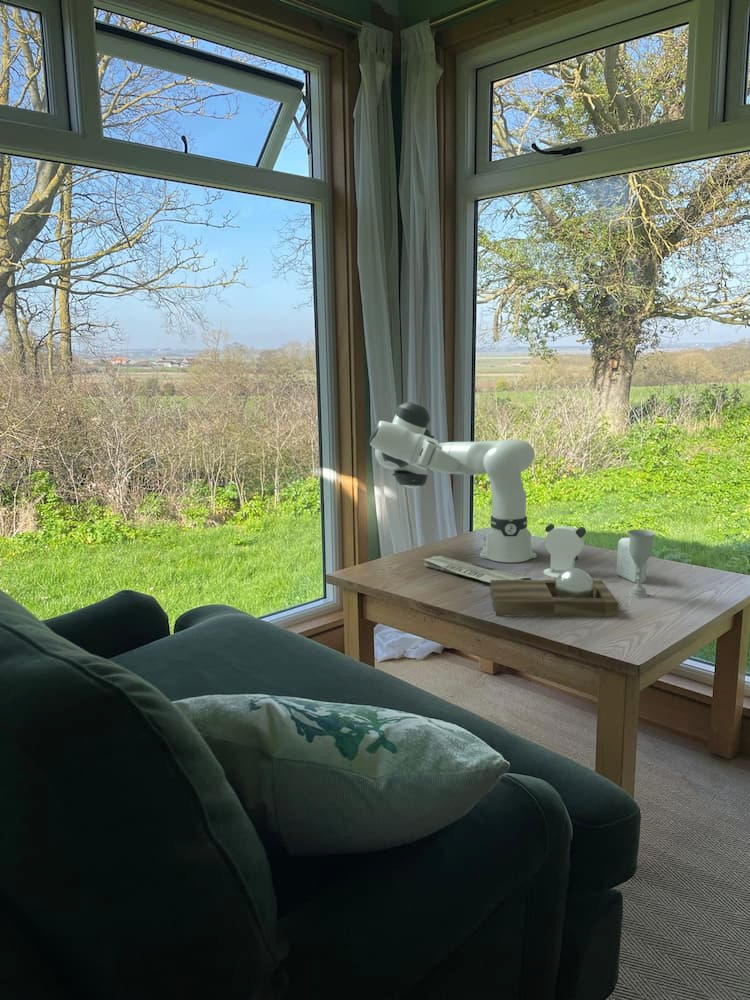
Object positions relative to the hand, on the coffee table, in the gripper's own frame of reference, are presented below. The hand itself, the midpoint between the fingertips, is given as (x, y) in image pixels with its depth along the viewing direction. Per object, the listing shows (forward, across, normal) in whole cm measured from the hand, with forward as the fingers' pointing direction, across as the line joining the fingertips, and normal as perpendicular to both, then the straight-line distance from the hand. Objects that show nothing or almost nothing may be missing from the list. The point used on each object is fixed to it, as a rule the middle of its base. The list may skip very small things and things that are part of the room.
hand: (473, 472), depth 194 cm
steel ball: (+37, -1, -18) cm, 41 cm away
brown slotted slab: (+32, -1, -25) cm, 41 cm away
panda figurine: (+38, -29, -19) cm, 52 cm away
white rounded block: (+56, -25, -12) cm, 63 cm away
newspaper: (+13, -27, -31) cm, 43 cm away
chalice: (+56, -10, -15) cm, 59 cm away
